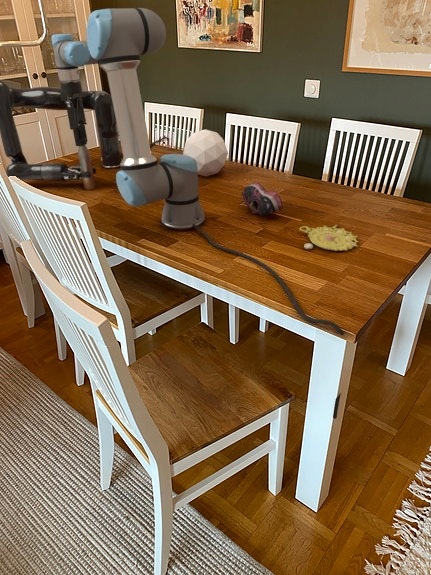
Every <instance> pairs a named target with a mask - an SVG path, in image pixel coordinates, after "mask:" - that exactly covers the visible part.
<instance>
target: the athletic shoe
mask: <svg viewBox="0 0 431 575" xmlns="http://www.w3.org/2000/svg"><path fill="white" fill-rule="evenodd" d="M241 197H242V199H243V201H238V203H239V204H241V205H245V206H246V207H247V208H248V210H249V211H250V210H251V213H252V214H255V215H260V217H266V216H267V215H270V214H274V213H275V212H279V211H282V210H283V209H284V205H283V201H282V198H281V196H280V195H279V194H278V192H277V191H274V190H269V191H267V190H266V189H265V187H264V186H263V185H262V184H261V183H258V182H251V183H249V184H247V186H246V187H245V188H244V190H243V191H242V192H241Z"/></svg>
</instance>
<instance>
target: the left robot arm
mask: <svg viewBox="0 0 431 575" xmlns="http://www.w3.org/2000/svg"><path fill="white" fill-rule="evenodd" d="M78 94H79V96H82V103H83V108H84V110H90V111H94V115H95V127H96V134H97V139H98V146H99V151H100V152H99V153H100V160H101V163H102V164H101V165H102V167H103V168H105V169H116V168H117V169H118V168H121V167H120V163H121V162H122V160H123V158H124V157H123V152H122V151H121V145H120V138H119V132H118V127H117V122H116V117H115V112H114V107H113V102H112V97H111V94H109V92H107V91H105V90H82V92H80V93H78ZM65 102H67V94H64V93H62V90H61V87H57V86H37V87H29V88H17V87H10V86H9V85H8V84H7V83H6V82H5V81H3V80H0V138H1V144H2V148H3V151H4V152H3V153H4V155H5V157H6V158H8V159H9V160H10V161H11V163H10V164H8V165H7V167H6V168H5V174H6V176H7V177H8V178H9V176H16V177H17V178H19V179H20V180H19V181H39V182H40V181H42V182H59V183H60V182H61V183H62V182H63V183H65V182H68V181H79V180H80V179H82V178H91V177H92V175H91V172H81V168H80V164H75V165H74V166H68V165H67V164H66V163H64V162H47V163H28V160H27V159H26V158H27V157H26V156H25V154H24V153H23V148H22V144H21V139H20V136H19V133H18V129H17V126H16V123H15V118H14V114H13V108H28V109H29V108H30V109H37V110H45V111H46V110H48V111H67V108H66V105H65ZM167 137H168V136H164V137H161V138H160V139H157V140H155V141H153V142H151V143H149V145H150V148H151V147H152V146H153V145H155V144H157V143H159V142H161V141H163V140H165V139H166V140H169V139H170V138H169V137H168V138H167ZM92 169H93V175H96V173H97V169H96V167H92Z"/></svg>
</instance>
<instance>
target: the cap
mask: <svg viewBox="0 0 431 575" xmlns="http://www.w3.org/2000/svg"><path fill="white" fill-rule="evenodd" d="M87 141H88V140H87ZM87 141H86V138H84V137H82V142H83V145H86V146H87V145H88V142H87Z"/></svg>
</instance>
